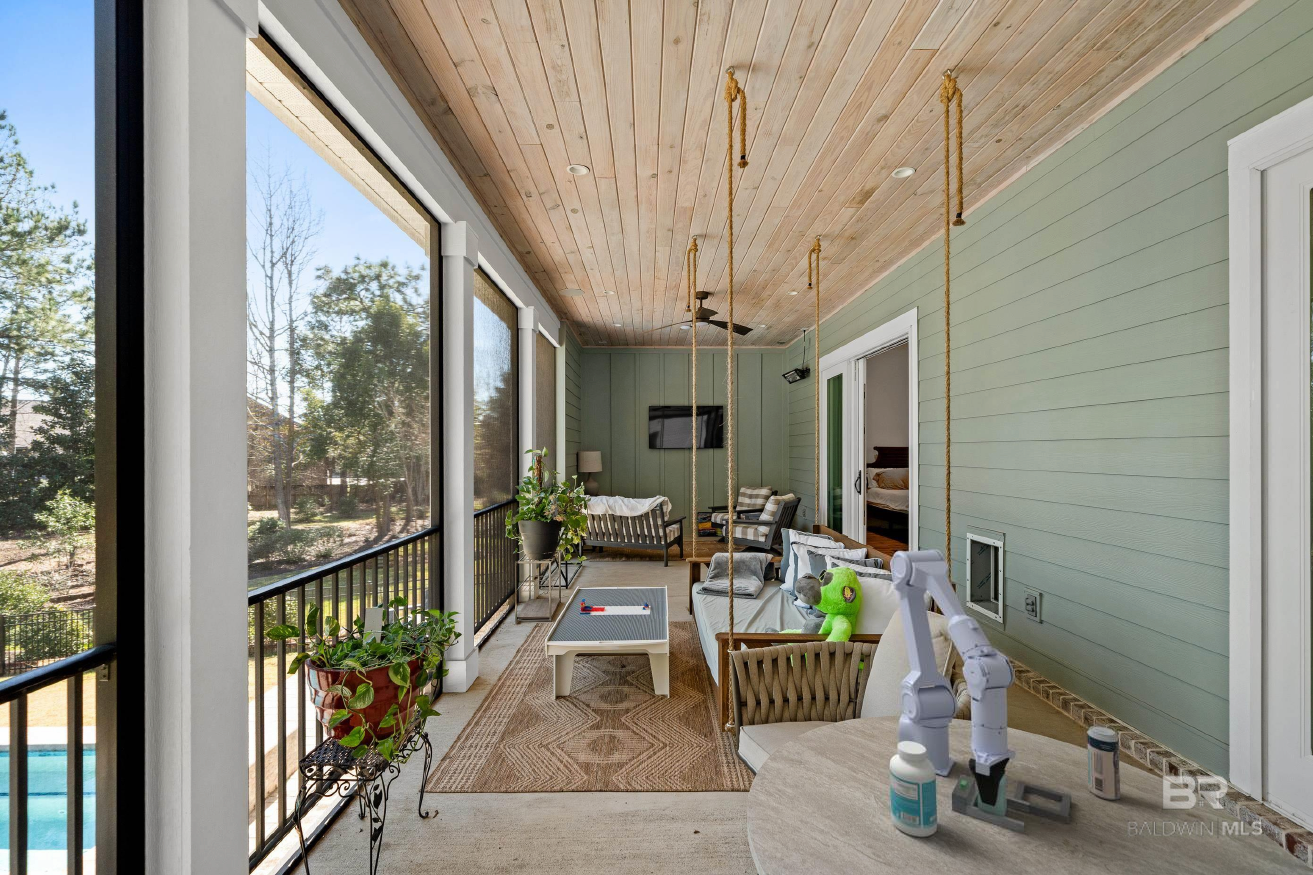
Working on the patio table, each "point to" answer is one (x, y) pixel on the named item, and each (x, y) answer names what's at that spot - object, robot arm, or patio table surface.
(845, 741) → the patio table surface
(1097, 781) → the supplement canister
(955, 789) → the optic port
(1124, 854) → the patio table surface
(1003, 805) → the plug
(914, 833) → the pill bottle
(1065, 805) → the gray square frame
